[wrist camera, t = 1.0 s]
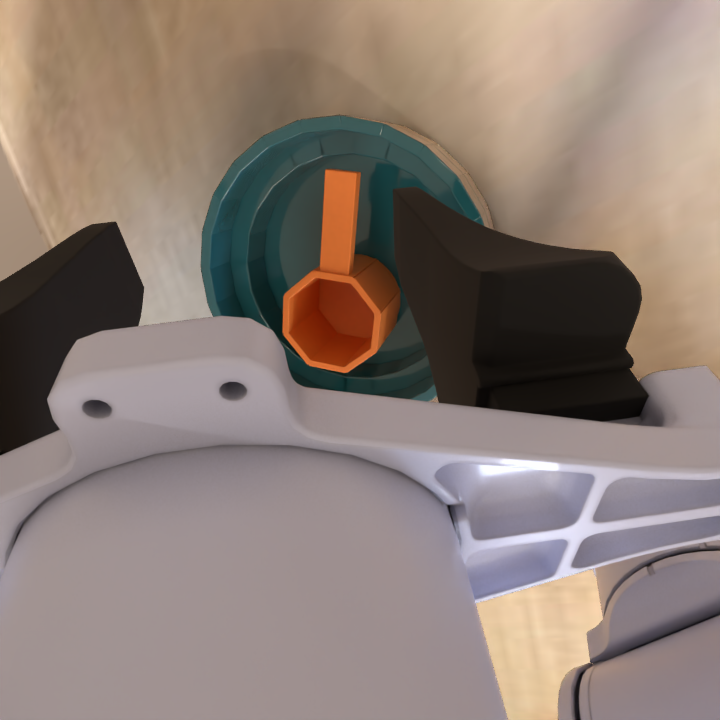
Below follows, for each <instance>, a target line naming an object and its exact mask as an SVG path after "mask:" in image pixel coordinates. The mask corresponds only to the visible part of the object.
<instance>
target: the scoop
mask: <svg viewBox="0 0 720 720" xmlns="http://www.w3.org/2000/svg"><path fill="white" fill-rule="evenodd" d="M360 177H361V173H360V172H356V171H347V170H339V169H326V170H325V183H324V201H323V219H322V237H321V255H320V266H319V267H317V268H316V269H314V270H312V271H311V272H310V273H309V274H307V275H306V276H305V277H304V278H303V279H301V280H300V281H299V282H298V283H297V284H296V285H294V286H293V287H292V288H291V289H290V290H288V291H287V292H286V293H285V294H284V296H283V331H282V333H284V334H283V335H284V336H285V338H286V339H287V340H288V341H289V343H290V344H291V345H292V346H293V348H294V349H295V350H296V351H297V353H298V354H299V355H300V356H301V358H302V359H303V360H304V361H305V362H306V364H307V365H308V364H309V366H313V367H318V368H323V369H328V370H332V371H337V372H342V373H348V372H349V371H350V370H352V369H353V368H355V367H356V366H358V365H359V364H361V363H362V362H364V361H365V360H367V359H368V358H369V357H371V356H372V355H374V354H375V353H376V352H377V351H378V349H379V348H380V347H381V345H382V344H383V342H384V341H385V340H386V338H387V337H388V335H389V334H390V333H391V331H392V330H393V328H394V327H395V325H396V324H397V316H398V313H399V309H400V288H399V287H398V284H397V282H396V280H395V278H394V276H393V275H392V273H391V272H390V271H389V270H388V268H387V267H385V266H384V265H383V264H382V263H381V262H379V260H377V259H375V258H372V257H369V256H366V255H361V254H354V250H355V238H356V226H357V214H358V202H359V189H360Z"/></svg>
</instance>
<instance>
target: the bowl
mask: <svg viewBox="0 0 720 720" xmlns="http://www.w3.org/2000/svg"><path fill="white" fill-rule="evenodd" d="M326 169H339V170H347V171H356V172H360V173H361V177H360V189H359V202H358V214H357V226H356V238H355V250H354V254H361V255H366V256H369V257H372V258H375V259H377V260H379V262H381V263H382V264H383V265H384V266H385V267H387V268H388V270H389V271H390V272H391V273H392V275H393V276H394V278H395V280H396V282H397V284H398V287H399V288H400V309H399V313H398V316H397V324H396V325H395V327H394V328H393V330H392V331H391V333H390V334H389V335H388V337H387V338H386V340H385V341H384V342H383V344H382V345H381V347H380V348H379V349H378V351H377V352H376V353H375V354H374V355H372V356H371V357H369V358H368V359H367V360H365V361H364V362H362V363H361V364H359V365H358V366H356V367H355V368H353V369H352V370H350V371H349V372H348V373H342V372H337V371H332V370H328V369H323V368H318V367H313V366H309V364H308V365H307V364H306V362H305V361H304V360H303V359H302V358H301V356H300V355H299V354H298V353H297V351H296V350H295V349H294V348H293V346H292V345H291V344H290V343H289V341H288V340H287V339H286V338H285V336H284V335H283V334H284V333H282V331H283V296H284V294H285V293H286V292H287V291H288V290H290V289H291V288H292V287H293V286H294V285H296V284H297V283H298V282H299V281H300V280H301V279H303V278H304V277H305V276H306V275H307V274H309V273H310V272H311V271H312V270H314V269H316V268H317V267H319V266H320V255H321V237H322V219H323V201H324V183H325V170H326ZM415 186H416V187H418V188H420V189H422V190H423V191H425V192H426V193H428V194H429V195H431V196H432V197H434V198H435V199H437V200H438V201H440V202H442V203H443V204H445V205H446V206H448V207H450V208H451V209H453V210H454V211H456V212H458V213H460V214H461V215H463V216H465V217H467V218H469V219H471V220H473V221H475V222H477V223H479V224H481V225H483V226H485V227H488V228H490V229H493V230H494V227H493V223H492V219H491V215H490V212H489V208H488V206H487V204H486V202H485V200H484V198H483V197H482V195H481V193H480V192H479V190H478V188H477V186H476V185H475V183H474V181H473V180H472V178H471V176H470V174H469V173H467V171H466V170H465V169H464V168H463V167H462V166H461V165H460V164H459V163H458V162H457V161H456V160H455V159H454V158H453V157H452V156H451V155H450V154H449V153H448V152H447V151H446V150H445V149H444V148H443V147H441V146H440V145H438V143H436V142H434V141H432V140H430V139H428V138H426V137H424V136H422V135H421V134H419V133H417V132H415V131H413V130H411V129H409V128H407V127H404V126H402V125H397V124H392V123H386V122H381V121H376V120H371V119H365V118H359V117H352V116H346V115H334V116H325V117H317V118H308V119H301V120H297V121H295V122H293V123H290V124H288V125H286V126H284V127H281V128H279V129H277V130H275V131H272V132H270V133H268V134H266V135H264V136H263V137H261V138H260V139H259V140H257V141H256V142H255V143H254V144H253V145H252V146H251V147H250V148H248V149H247V150H246V151H245V152H244V153H243V154H242V155H241V156H239V157H238V158H237V159H236V160H235V161H234V163H232V165H231V166H230V168H229V170H228V171H227V173H226V174H225V176H224V178H223V179H222V181H221V182H220V184H219V186H218V187H217V189H216V190H215V192H214V194H213V196H212V199H211V203H210V206H209V210H208V213H207V216H206V220H205V223H204V226H203V231H202V247H201V272H202V277H203V282H204V287H205V293H206V298H207V303H208V306H209V308H210V310H211V313H212V315H213V317H216V316H229V317H242V318H250V319H252V320H254V321H256V322H258V323H260V324H262V325H263V326H265V327H267V328H269V329H271V330H273V332H274V333H275V335H276V337H277V338H278V340H279V341H280V343H281V345H282V346H283V348H284V351H285V355H286V359H287V364H288V368H289V371H290V374H291V376H292V378H293V380H294V381H295V382H296V383H297V384H299V385H301V386H303V387H307V388H316V389H324V390H333V391H342V392H350V393H359V394H367V395H376V396H385V397H393V398H402V399H411V400H419V401H430V400H432V399H434V398H435V397H436V396H437V393H436V388H435V384H434V380H433V376H432V372H431V368H430V364H429V360H428V356H427V353H426V350H425V347H424V344H423V341H422V338H421V336H420V333H419V330H418V328H417V325H416V323H415V320H414V318H413V315H412V313H411V310H410V308H409V305H408V302H407V300H406V297H405V295H404V292H403V289H402V287H401V284H400V279H399V275H398V271H397V266H396V262H395V257H394V219H393V189H398V188H406V187H415Z"/></svg>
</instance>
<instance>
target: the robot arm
mask: <svg viewBox="0 0 720 720" xmlns="http://www.w3.org/2000/svg"><path fill="white" fill-rule="evenodd" d="M393 219H394V257H395V262H396V266H397V271H398V275H399V279H400V284H401V287H402V289H403V292H404V295H405V297H406V300H407V302H408V305H409V308H410V310H411V313H412V315H413V318H414V320H415V323H416V325H417V328H418V330H419V333H420V336H421V338H422V341H423V344H424V347H425V350H426V353H427V356H428V360H429V364H430V368H431V372H432V376H433V380H434V384H435V388H436V393H437V397H438V401H439V403H436V402H428V401H419V400H411V399H402V398H393V397H385V396H376V395H367V394H359V393H350V392H342V391H333V390H324V389H316V388H307V387H303V386H301V385H299V384H297V383H296V382H295V381H294V380H293V378H292V376H291V374H290V371H289V368H288V364H287V359H286V355H285V351H284V348H283V346H282V345H281V343H280V341H279V340H278V338H277V337H276V335H275V333H274V332H273V330H271V329H269V328H267V327H265V326H263V325H262V324H260V323H258V322H256V321H254V320H252V319H250V318H242V317H229V316H216V317H208V318H200V319H192V320H184V321H176V322H168V323H160V324H152V325H144V326H138V325H139V321H140V318H141V311H142V303H143V293H144V286H143V284H142V282H141V279H140V277H139V275H138V272H137V270H136V267H135V265H134V263H133V260H132V258H131V256H130V253H129V251H128V249H127V246H126V244H125V242H124V239H123V237H122V235H121V232H120V230H119V228H118V225H117V223H116V222H108V223H99V224H92V225H89V226H87V227H85V228H83V229H81V230H80V231H78V232H76V233H75V234H73V235H72V236H70V237H69V238H67V239H66V240H64V241H63V242H61V243H60V244H58V245H57V246H55V247H54V248H52V249H51V250H49V251H48V252H46V253H45V254H44V255H42V256H41V257H39V258H38V259H36V260H35V261H33V262H31V263H30V264H28V265H27V266H25V267H24V268H22V269H21V270H19V271H17V272H15V273H14V274H12V275H11V276H9V277H8V278H6V279H4V280H2V281H1V282H0V720H508V718H507V714H506V711H505V707H504V703H503V700H502V696H501V693H500V689H499V685H498V682H497V678H496V675H495V671H494V667H493V664H492V660H491V657H490V653H489V649H488V646H487V642H486V638H485V635H484V631H483V628H482V624H481V620H480V617H479V613H478V610H477V606H476V603H479V602H482V601H485V600H489V599H492V598H496V597H499V596H502V595H506V594H509V593H513V592H516V591H519V590H523V589H526V588H530V587H533V586H536V585H540V584H543V583H547V582H550V581H553V580H557V579H560V578H564V577H567V576H570V575H574V574H577V573H581V572H584V571H587V570H591V569H593V571H594V575H595V577H596V579H597V585H598V591H599V597H600V603H601V610H602V616H603V620H602V621H601V622H600V624H599V625H597V626H596V627H595V628H593V629H592V630H590V631H588V632H587V641H588V649H589V656H590V662H591V663H588V664H585V665H582V666H579V667H576V668H573V669H572V670H571V671H569V672H568V673H567V674H566V675H565V677H564V679H563V680H562V683H561V686H560V690H559V698H558V720H720V380H719V379H718V378H717V377H716V376H715V375H714V374H713V373H712V371H711V370H710V369H709V368H708V367H707V366H695V367H687V368H680V369H673V370H665V371H658V372H654V373H651V374H648V375H647V376H645V377H644V378H642V379H641V380H640V381H638V380H637V379H636V377H635V376H634V375H633V373H632V372H631V370H630V369H629V368H632V366H633V364H634V362H633V358H632V357H631V355H630V354H629V353H628V351H627V350H626V349H625V348H626V345H627V342H628V340H629V337H630V334H631V332H632V329H633V326H634V324H635V321H636V319H637V316H638V313H639V310H640V305H641V301H642V295H641V287H640V284H639V283H638V281H637V279H636V278H635V276H634V275H633V273H632V272H631V271H630V270H629V269H628V268H627V267H626V266H625V265H624V264H623V263H622V261H621V260H620V259H619V258H618V257H617V256H616V255H615V254H614V253H613V252H609V251H594V250H579V249H569V248H563V247H556V246H549V245H544V244H539V243H535V242H531V241H527V240H523V239H519V238H516V237H512V236H509V235H506V234H503V233H501V232H498V231H496V230H493V229H490V228H488V227H485V226H483V225H481V224H479V223H477V222H475V221H473V220H471V219H469V218H467V217H465V216H463V215H461V214H460V213H458V212H456V211H454V210H453V209H451V208H450V207H448V206H446V205H445V204H443V203H442V202H440V201H438V200H437V199H435V198H434V197H432V196H431V195H429V194H428V193H426V192H425V191H423V190H422V189H420V188H418V187H416V186H415V187H406V188H398V189H393ZM592 663H593V664H592Z"/></svg>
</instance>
